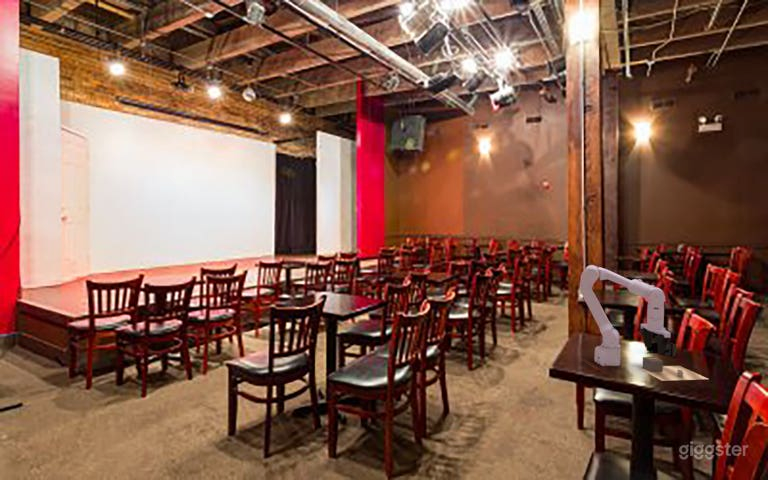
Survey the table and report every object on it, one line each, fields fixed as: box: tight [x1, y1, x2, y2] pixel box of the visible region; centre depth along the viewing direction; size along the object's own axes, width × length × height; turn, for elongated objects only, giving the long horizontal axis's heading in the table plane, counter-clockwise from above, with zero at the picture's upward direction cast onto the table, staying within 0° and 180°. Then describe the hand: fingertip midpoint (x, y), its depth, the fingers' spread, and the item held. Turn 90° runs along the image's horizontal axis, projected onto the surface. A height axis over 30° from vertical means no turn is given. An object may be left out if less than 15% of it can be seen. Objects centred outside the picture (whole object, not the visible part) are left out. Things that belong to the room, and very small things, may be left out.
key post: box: [677, 369, 683, 378], centre depth 170 cm, size 3×1×2 cm, turn 154°
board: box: [636, 365, 709, 382], centre depth 173 cm, size 19×15×2 cm
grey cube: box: [642, 356, 664, 372], centre depth 177 cm, size 5×5×5 cm
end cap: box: [646, 337, 678, 358], centre depth 200 cm, size 10×7×7 cm
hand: (654, 350), depth 177 cm, fingers open, 7 cm apart
